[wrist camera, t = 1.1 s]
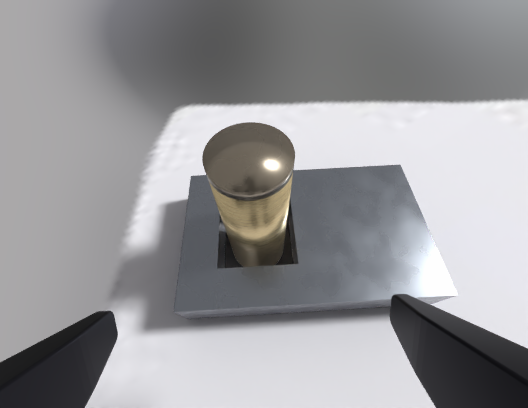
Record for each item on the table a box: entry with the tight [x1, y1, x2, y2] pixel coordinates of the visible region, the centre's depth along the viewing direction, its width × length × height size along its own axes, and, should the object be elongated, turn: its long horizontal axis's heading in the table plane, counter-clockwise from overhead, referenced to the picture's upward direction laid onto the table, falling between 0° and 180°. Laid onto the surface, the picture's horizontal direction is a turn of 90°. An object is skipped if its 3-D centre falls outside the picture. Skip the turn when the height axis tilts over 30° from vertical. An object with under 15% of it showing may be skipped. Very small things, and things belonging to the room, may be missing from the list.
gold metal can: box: [203, 123, 295, 267], centre depth 18 cm, size 5×5×12 cm
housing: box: [174, 165, 458, 319], centre depth 22 cm, size 12×20×4 cm, turn 93°
